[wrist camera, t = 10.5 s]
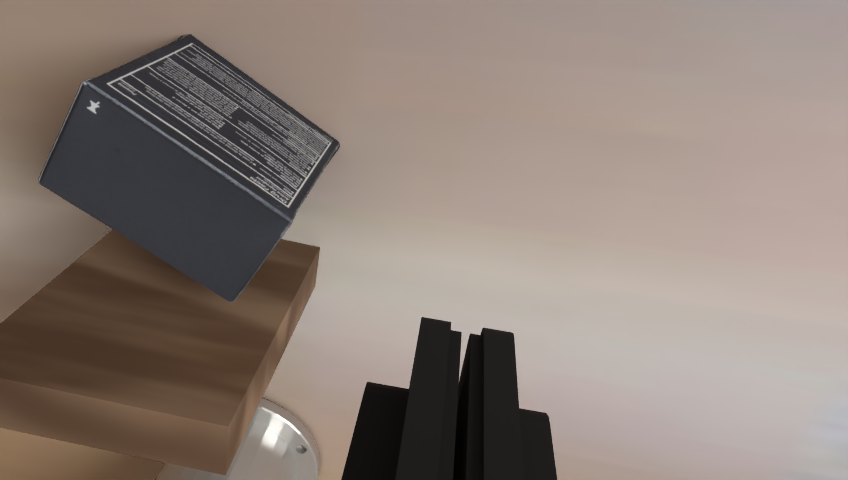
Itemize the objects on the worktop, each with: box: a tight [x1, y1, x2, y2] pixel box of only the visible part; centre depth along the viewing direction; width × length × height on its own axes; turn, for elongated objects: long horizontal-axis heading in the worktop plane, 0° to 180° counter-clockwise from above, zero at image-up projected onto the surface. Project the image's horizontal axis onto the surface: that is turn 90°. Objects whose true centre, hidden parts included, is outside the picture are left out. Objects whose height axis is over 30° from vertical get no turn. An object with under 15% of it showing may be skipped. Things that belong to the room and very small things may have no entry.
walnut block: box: [0, 229, 320, 476], centre depth 34 cm, size 3×12×16 cm, turn 79°
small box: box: [38, 34, 340, 302], centre depth 33 cm, size 11×6×10 cm, turn 53°
